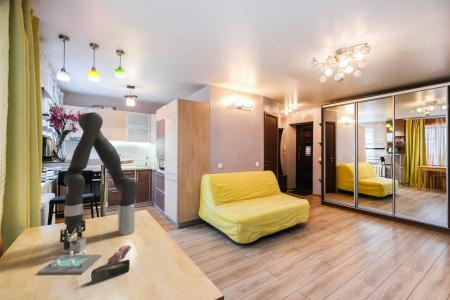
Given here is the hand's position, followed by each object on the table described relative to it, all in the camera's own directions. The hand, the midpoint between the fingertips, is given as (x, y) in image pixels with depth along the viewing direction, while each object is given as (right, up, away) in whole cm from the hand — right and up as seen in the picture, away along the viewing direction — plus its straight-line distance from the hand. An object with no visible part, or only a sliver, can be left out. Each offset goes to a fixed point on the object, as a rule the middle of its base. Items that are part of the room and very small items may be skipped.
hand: (73, 245), depth 101 cm
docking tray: (+8, -3, -12) cm, 15 cm away
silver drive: (0, -3, 0) cm, 3 cm away
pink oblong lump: (+27, -3, -7) cm, 28 cm away
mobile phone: (+30, -4, -20) cm, 36 cm away
